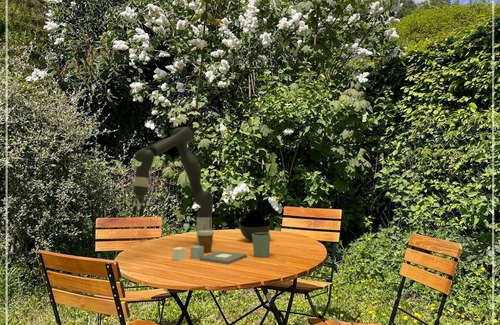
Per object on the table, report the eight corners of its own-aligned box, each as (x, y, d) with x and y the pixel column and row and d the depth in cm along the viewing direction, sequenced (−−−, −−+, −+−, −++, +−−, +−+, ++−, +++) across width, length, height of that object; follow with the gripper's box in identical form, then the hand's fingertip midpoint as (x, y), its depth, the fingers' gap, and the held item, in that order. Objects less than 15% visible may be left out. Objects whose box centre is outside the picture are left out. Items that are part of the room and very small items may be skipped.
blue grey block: (196, 256, 239) (196, 245, 239) (203, 257, 236) (203, 246, 236) (190, 258, 235) (190, 247, 235) (197, 259, 232) (197, 248, 232)
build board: (219, 253, 245) (219, 250, 245) (246, 257, 235) (246, 254, 235) (199, 260, 230) (199, 257, 230) (227, 264, 220) (227, 261, 220)
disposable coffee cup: (216, 250, 253) (216, 230, 253) (209, 254, 244) (209, 232, 244) (201, 249, 256) (201, 229, 256) (194, 253, 247) (194, 232, 247)
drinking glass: (264, 258, 232) (264, 236, 232) (248, 256, 237) (248, 234, 237) (273, 254, 240) (273, 233, 240) (258, 252, 246) (257, 231, 246)
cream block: (178, 258, 235) (178, 247, 235) (185, 259, 233) (185, 248, 233) (172, 260, 231) (172, 248, 231) (179, 261, 229) (179, 249, 229)
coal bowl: (263, 236, 295) (263, 209, 294) (275, 242, 276) (275, 212, 276) (235, 239, 288) (235, 210, 287) (245, 244, 269) (245, 214, 269)
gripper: (153, 186, 234) (149, 217, 232) (141, 186, 245) (138, 215, 243) (140, 185, 229) (136, 216, 227) (129, 184, 240) (125, 214, 239)
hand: (137, 215), depth 235 cm, fingers open, 8 cm apart
